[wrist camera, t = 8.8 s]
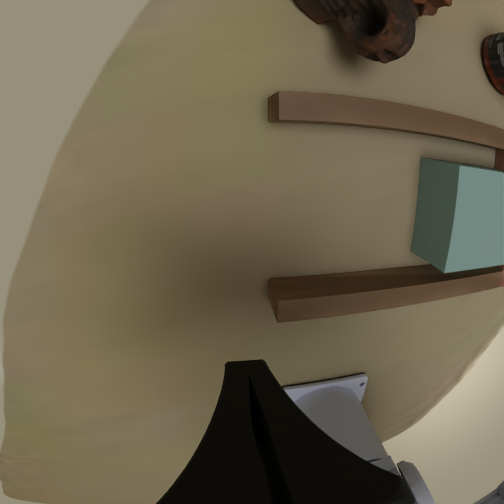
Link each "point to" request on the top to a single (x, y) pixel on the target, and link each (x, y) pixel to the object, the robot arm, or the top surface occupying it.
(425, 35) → the top surface
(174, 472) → the top surface
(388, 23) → the pottery mug
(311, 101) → the guide channel
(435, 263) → the block
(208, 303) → the top surface
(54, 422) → the top surface
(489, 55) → the supplement bottle
